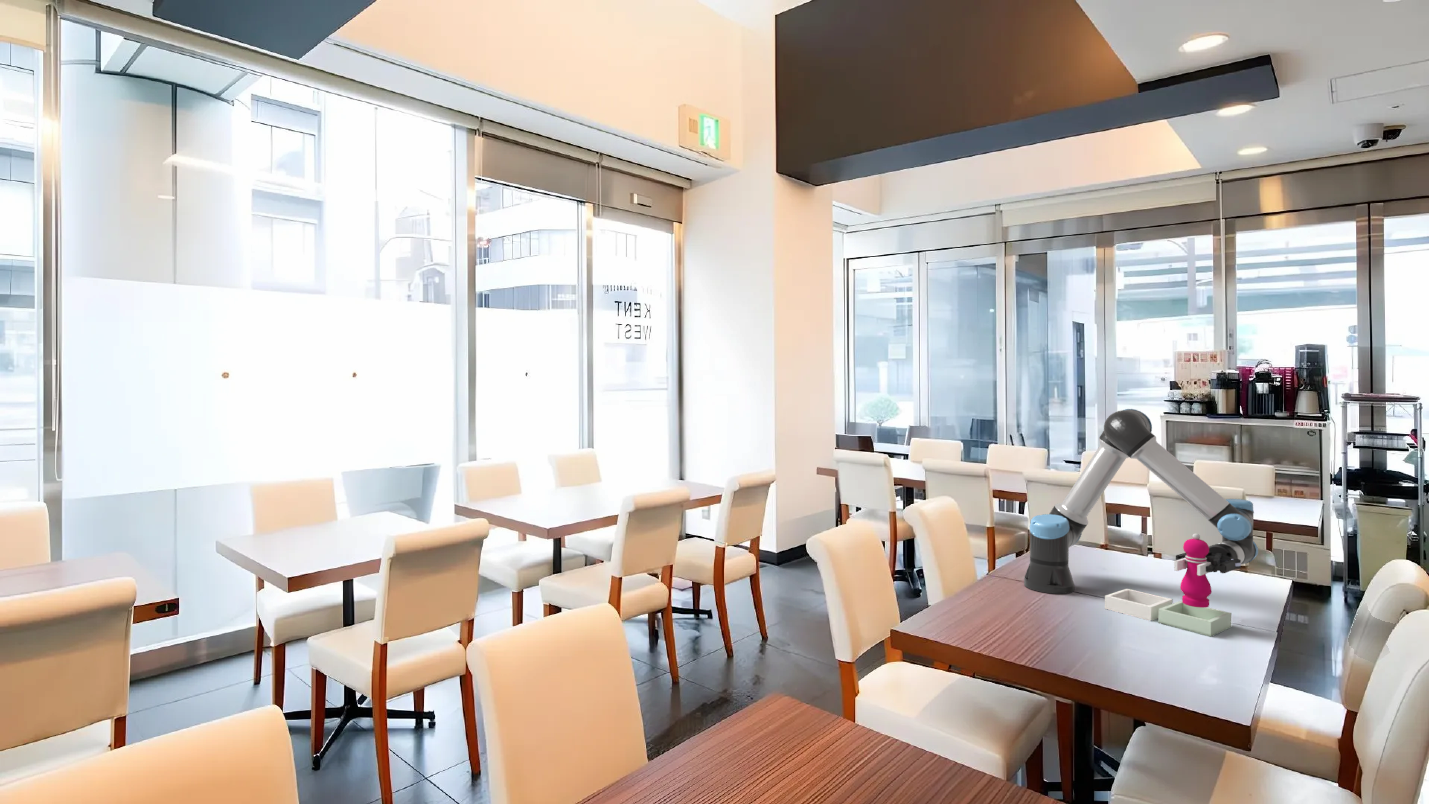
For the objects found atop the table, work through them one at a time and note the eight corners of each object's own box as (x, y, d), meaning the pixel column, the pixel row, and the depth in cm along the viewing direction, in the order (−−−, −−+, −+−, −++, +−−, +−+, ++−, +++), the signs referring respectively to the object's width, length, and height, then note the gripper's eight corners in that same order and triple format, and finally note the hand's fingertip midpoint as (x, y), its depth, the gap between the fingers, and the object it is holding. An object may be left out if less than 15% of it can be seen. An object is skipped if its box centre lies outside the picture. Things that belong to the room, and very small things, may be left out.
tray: (1158, 623, 199) (1158, 609, 199) (1179, 614, 206) (1179, 600, 206) (1210, 636, 188) (1210, 622, 188) (1231, 627, 196) (1231, 613, 196)
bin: (1104, 608, 212) (1104, 595, 212) (1126, 601, 219) (1126, 588, 219) (1150, 621, 201) (1151, 607, 201) (1172, 612, 208) (1172, 599, 208)
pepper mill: (1216, 609, 193) (1217, 536, 192) (1187, 607, 194) (1187, 535, 194) (1203, 600, 200) (1204, 531, 199) (1175, 599, 201) (1176, 530, 201)
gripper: (1260, 575, 199) (1224, 589, 187) (1189, 562, 214) (1152, 574, 202) (1260, 549, 199) (1225, 561, 186) (1189, 538, 214) (1152, 548, 201)
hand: (1187, 568), depth 194 cm, fingers closed on pepper mill, 5 cm apart
